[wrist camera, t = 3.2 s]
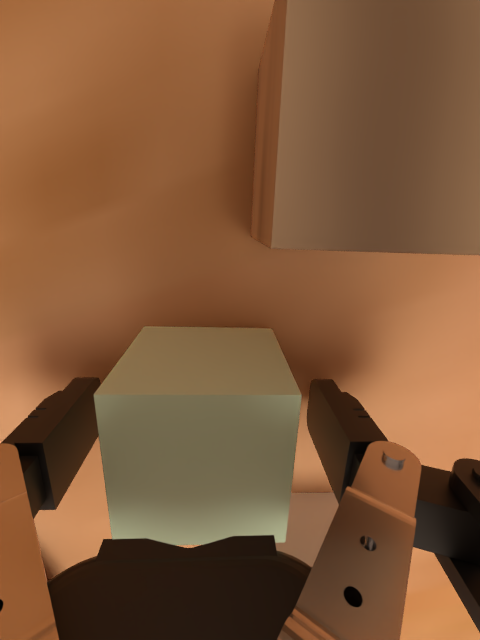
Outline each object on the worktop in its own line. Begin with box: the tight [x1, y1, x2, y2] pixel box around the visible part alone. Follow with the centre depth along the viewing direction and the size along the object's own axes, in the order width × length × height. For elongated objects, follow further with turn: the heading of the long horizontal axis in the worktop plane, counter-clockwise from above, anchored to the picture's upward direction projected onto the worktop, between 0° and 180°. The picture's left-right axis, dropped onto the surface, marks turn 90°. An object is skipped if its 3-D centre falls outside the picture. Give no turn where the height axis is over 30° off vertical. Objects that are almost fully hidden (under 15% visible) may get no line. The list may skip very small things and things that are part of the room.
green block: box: [94, 326, 302, 545], centre depth 11 cm, size 5×5×5 cm
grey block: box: [275, 492, 339, 567], centre depth 13 cm, size 5×5×5 cm
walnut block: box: [251, 0, 480, 255], centre depth 8 cm, size 5×5×5 cm
